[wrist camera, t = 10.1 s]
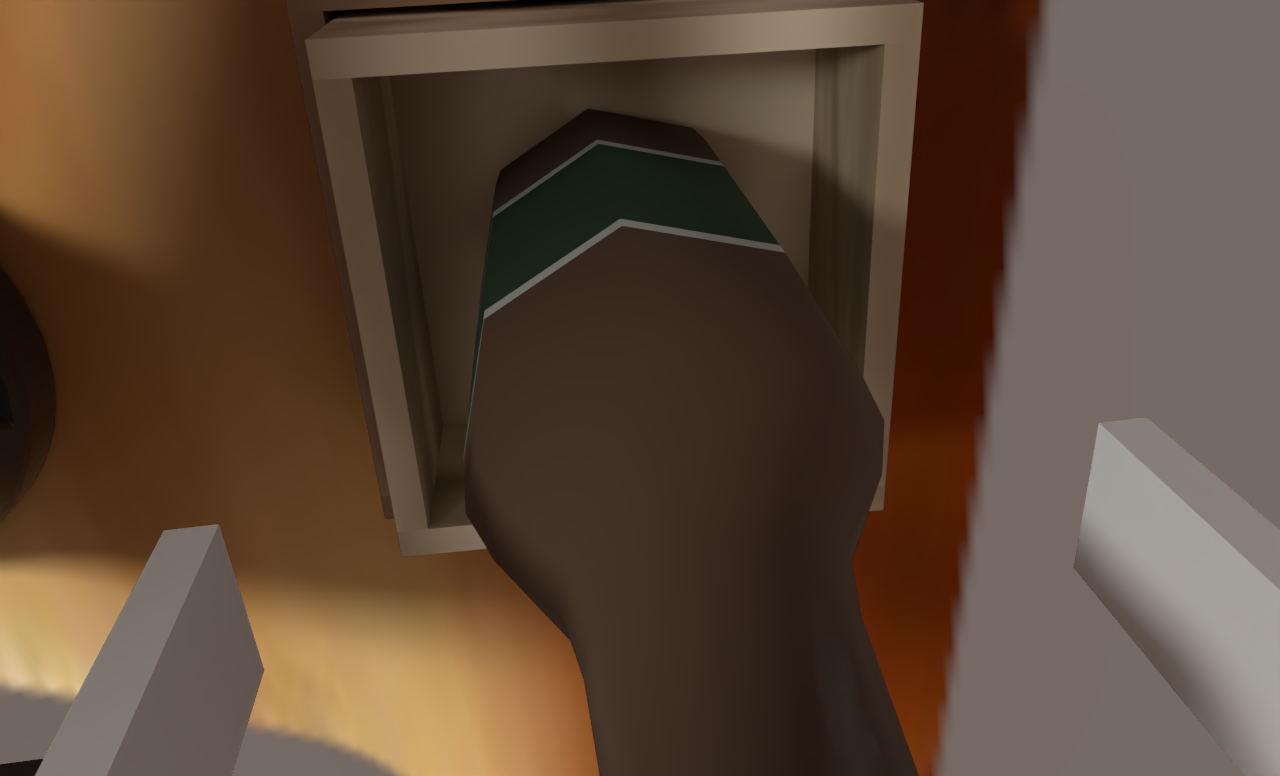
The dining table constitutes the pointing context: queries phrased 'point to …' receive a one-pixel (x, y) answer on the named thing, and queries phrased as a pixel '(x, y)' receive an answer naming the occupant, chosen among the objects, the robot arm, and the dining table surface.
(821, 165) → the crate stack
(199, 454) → the dining table surface
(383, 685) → the dining table surface
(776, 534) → the beer bottle
